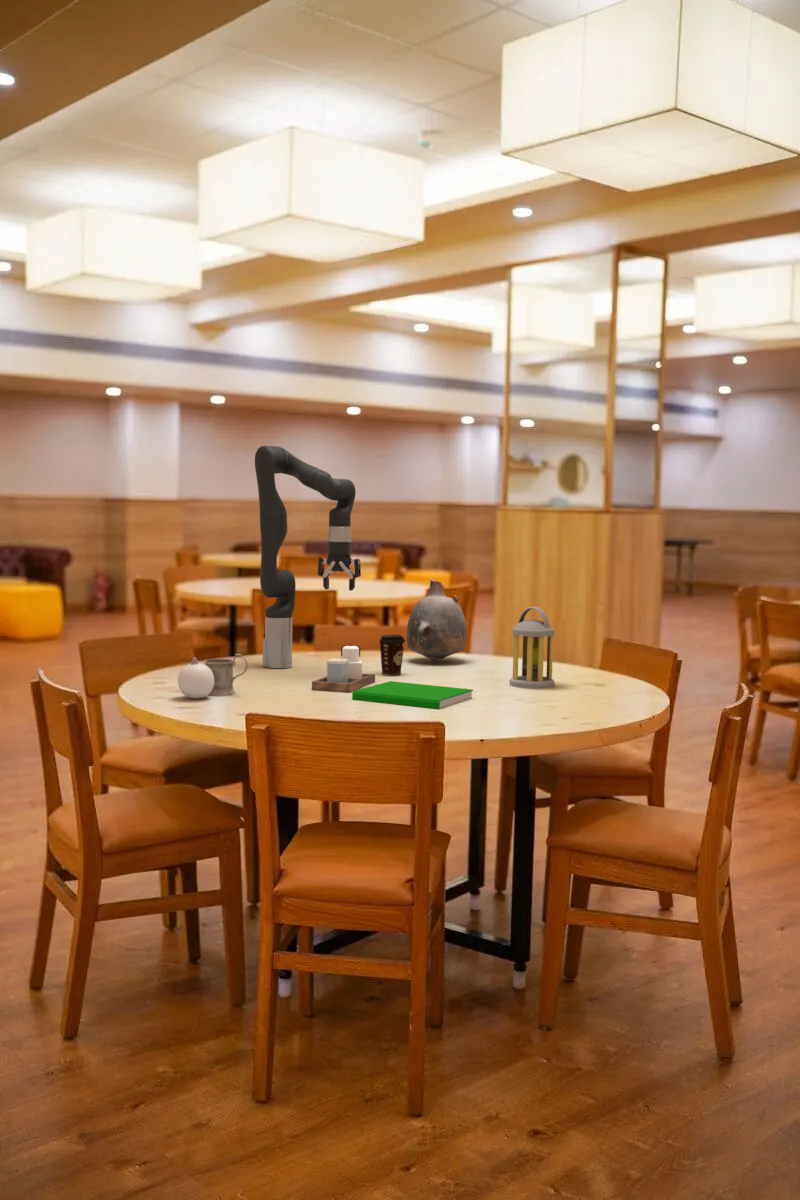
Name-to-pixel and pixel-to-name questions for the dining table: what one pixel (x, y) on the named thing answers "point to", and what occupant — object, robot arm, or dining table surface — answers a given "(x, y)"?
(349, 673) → the medicine bottle
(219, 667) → the mug
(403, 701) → the book
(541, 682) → the lantern
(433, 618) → the jug
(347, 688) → the brown flat rectangular frame
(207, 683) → the ornament
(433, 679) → the dining table surface
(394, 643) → the coffee cup
